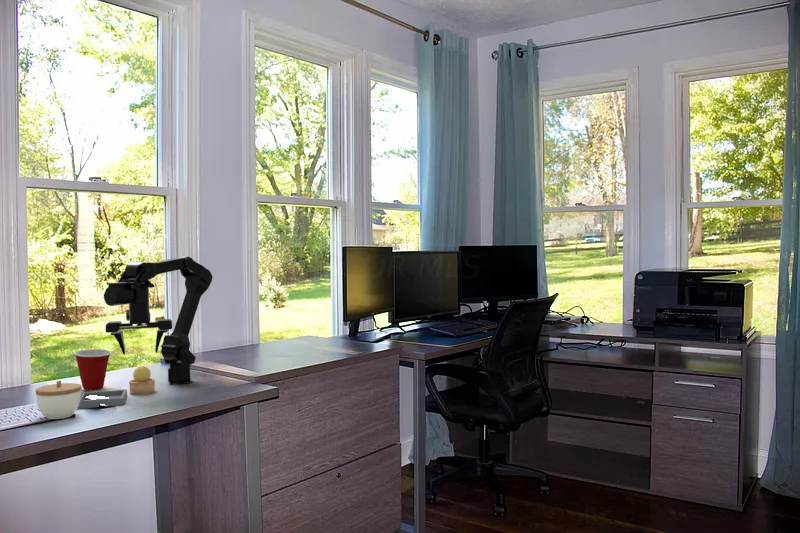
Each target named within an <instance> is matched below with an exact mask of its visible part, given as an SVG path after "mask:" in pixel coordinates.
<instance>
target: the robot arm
mask: <svg viewBox="0 0 800 533" xmlns="http://www.w3.org/2000/svg"><path fill="white" fill-rule="evenodd" d="M178 270H179V272H180V274H181V276H182V277H183V278H184V279H185V280H184V285H185V289H186V290H185V291H186V292H185V296H184V298H183V301H182V305H181V308H180V311H179V312H178V313H179V314H178V317H177V320H176V321H175V325H174V329H173V320H172V319H171V318H164V319H163V318H160V319H158V320H157V321H151V312H150V293H149V292H150V288H155V284H153V283H152V282H151V281H150V280H151V279H154V278H156V277H157V276H159V275H160V274H165V273H170V272H175V271H178ZM212 281H213V274H212V272H211V271H210V270H209V269H208V268H206V267H205V266H204V265H202V264H200V263H198V262H197V261H196V260H194V259H193V258H192V257H190V256H177V257H174V258H169V259H163V260H158V261H153V262H147V261H146V262H144V261H143V262H141V261H139V262H136V261H135V262H131V261H130V262H128V263H127V264H126V266H125V268H124V271H123V273H122V274H121V276H120V278H119V280H118V281H117V282H108V283H107V284H108V287H107V288H105V290H104V293H103V299H104V302H105V304H106V305H108V306H109V307H112V306H113V307H114V306H122V305H123V306H124V305H128V309H126V314H125V319H126V321H127V322H125V323H124V322H123V323H122V321H121V320H115V321H108V322H107V323H106V324H105V333H107V334H108V333H110V336H114V337H115V339H116V341H117V343H118V345H119V347H120V349H121V352H122V354H123V355H124V356H125V355H126V344H125V339H124V332H123V331H124V330H132V329H133V330H136V329H140V330H141V329H156V328H157V331H156V337H155V338H156V340H155V348H154V350H155V353H156V354H157V353H158V350H159V348H161V349H160V354H161V355H162V357H163V359H164V363H165V365H167V364H168V365H169V367H168V368H167V377H168V378H167V379H168V380H167V382H168V383H169V385H181V384H191V382H192V381H191V380H192V379H191V378H192V377H191V365H193V364H195V361H196V358H197V357H196V355H194V353H193V352H191V350H190V349H191V348H190V347H191V342H190V338H189V337H190V336H189V334H190V332H191V329H192V325H193V322H194V319H195V316H196V314H197V310H198V306H199V304H200V300H201V298H202V296H203V295H204V294H205V292H206V291H207V290H208V289H209V288H210V287H211V283H212ZM172 329H173V331H172V333H170V334H169V335H168V334H166V333H168V331H169V330H170V331H171V330H172ZM164 333H165V334H166V335H164ZM163 336H164V337H163ZM162 338H163V341H162ZM161 341H162V344H161ZM160 344H161V345H160ZM159 346H160V347H159Z"/></svg>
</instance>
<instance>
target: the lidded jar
mask: <svg viewBox="0 0 800 533" xmlns="http://www.w3.org/2000/svg"><path fill="white" fill-rule="evenodd" d="M81 395H82V383H81V384H80V383H77V382H64V383H63V382H62V381H61V380H57V381H56V383H53V384H48V385H44V386H40V387H39V386H38V387H37V388H36V389H35V396H36V397H35V398H36V405H37V407H38V410H39V412H40V413H41V414H42V415H43V416H45V417H46V419H47V418H48V420H60V419H66V418H69V417H70V418H71V417H72V416H73V414H74V413H75V412H76V411H77V410H78V409H77V408H78V407H79V404H80V401H81Z"/></svg>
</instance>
